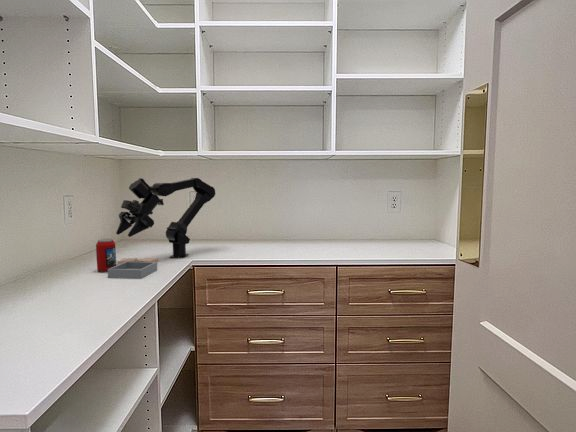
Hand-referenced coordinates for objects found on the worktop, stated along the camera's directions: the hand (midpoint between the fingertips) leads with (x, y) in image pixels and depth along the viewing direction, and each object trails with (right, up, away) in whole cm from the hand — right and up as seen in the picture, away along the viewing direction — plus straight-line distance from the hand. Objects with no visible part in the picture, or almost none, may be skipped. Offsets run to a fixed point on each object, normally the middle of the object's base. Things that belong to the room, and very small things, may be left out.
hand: (122, 235), depth 148 cm
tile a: (-2, -12, +10) cm, 16 cm away
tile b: (+6, -12, +10) cm, 17 cm away
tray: (+8, -14, -9) cm, 19 cm away
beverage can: (-4, -14, -4) cm, 15 cm away
